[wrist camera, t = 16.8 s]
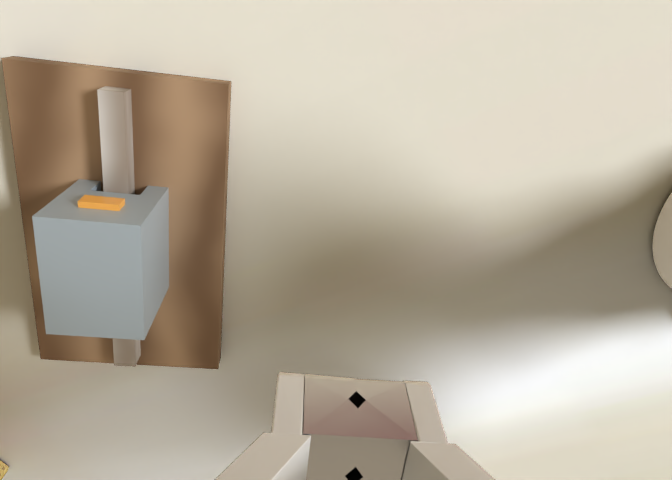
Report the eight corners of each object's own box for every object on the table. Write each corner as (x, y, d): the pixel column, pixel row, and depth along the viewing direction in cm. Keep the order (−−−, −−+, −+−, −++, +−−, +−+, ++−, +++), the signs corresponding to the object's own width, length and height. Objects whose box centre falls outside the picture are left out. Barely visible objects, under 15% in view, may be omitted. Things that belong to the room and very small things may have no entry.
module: (168, 182, 36) (140, 219, 30) (169, 286, 40) (144, 340, 33) (79, 173, 36) (31, 209, 29) (87, 280, 39) (46, 334, 33)
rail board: (231, 81, 35) (225, 87, 33) (220, 357, 45) (215, 380, 42) (13, 56, 34) (-12, 60, 31) (49, 347, 43) (32, 370, 40)
